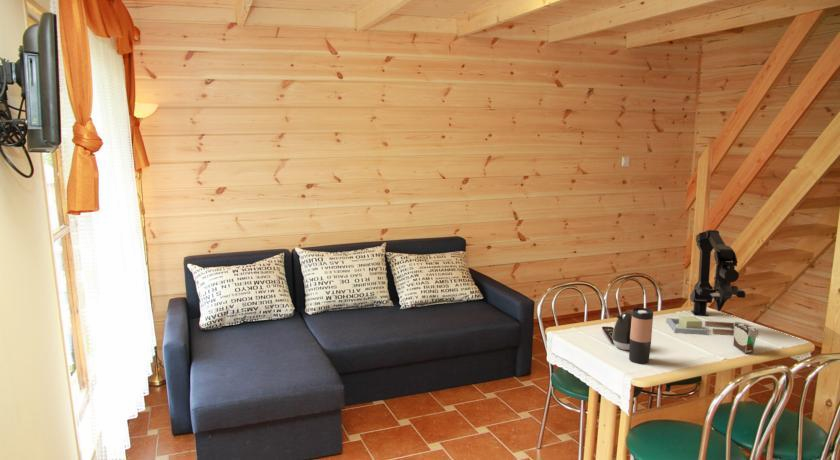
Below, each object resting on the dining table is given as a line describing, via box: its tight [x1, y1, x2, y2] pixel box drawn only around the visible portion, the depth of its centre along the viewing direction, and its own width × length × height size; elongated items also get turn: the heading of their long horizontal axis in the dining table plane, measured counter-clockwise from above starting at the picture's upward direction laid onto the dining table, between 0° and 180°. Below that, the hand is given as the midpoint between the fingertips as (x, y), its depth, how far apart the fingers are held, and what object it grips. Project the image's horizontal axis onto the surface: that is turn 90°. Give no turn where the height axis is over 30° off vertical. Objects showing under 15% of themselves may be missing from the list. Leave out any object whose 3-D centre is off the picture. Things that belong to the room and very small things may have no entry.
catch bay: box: [665, 317, 709, 336], centre depth 265 cm, size 15×14×2 cm
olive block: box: [677, 315, 703, 329], centre depth 263 cm, size 7×7×5 cm
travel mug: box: [628, 307, 654, 365], centre depth 225 cm, size 8×8×20 cm
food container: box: [732, 321, 759, 355], centre depth 238 cm, size 12×6×10 cm, turn 179°
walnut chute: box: [704, 320, 734, 336], centre depth 262 cm, size 12×16×2 cm
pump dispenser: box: [611, 311, 632, 351], centre depth 238 cm, size 10×10×15 cm
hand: (718, 310), depth 261 cm, fingers closed
